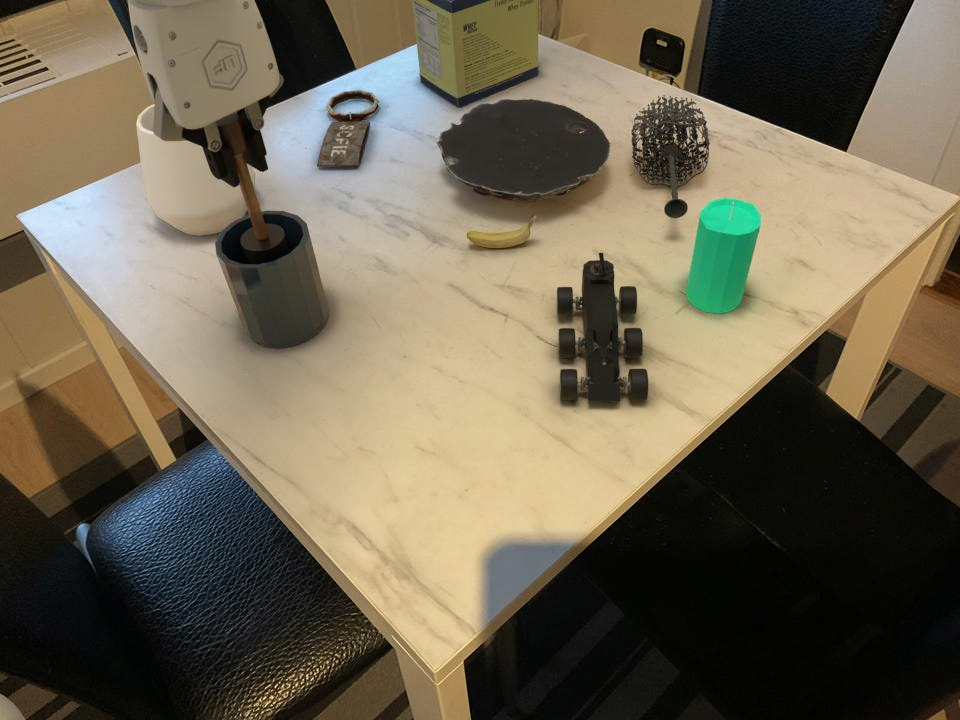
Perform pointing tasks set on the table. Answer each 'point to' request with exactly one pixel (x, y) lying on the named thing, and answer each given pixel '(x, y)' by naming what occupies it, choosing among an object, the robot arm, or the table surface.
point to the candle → (722, 254)
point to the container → (275, 284)
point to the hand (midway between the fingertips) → (242, 171)
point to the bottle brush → (251, 200)
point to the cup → (185, 183)
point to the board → (524, 149)
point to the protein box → (475, 46)
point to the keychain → (346, 131)
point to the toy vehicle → (600, 337)
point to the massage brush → (670, 147)
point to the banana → (501, 237)
